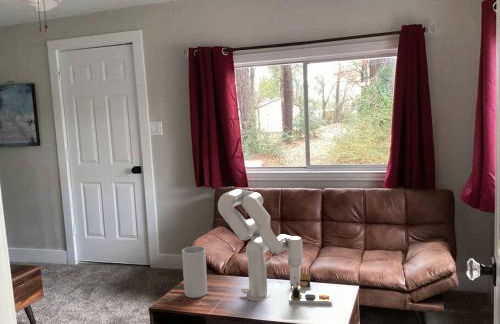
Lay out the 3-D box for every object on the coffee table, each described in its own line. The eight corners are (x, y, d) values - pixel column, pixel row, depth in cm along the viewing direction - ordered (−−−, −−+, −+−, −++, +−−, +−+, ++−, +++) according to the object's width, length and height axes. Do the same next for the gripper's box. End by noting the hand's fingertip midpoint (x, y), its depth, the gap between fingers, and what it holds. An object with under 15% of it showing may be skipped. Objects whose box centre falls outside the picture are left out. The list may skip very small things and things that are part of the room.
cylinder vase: (180, 293, 237) (177, 249, 235) (200, 287, 245) (197, 244, 242) (191, 300, 227) (189, 255, 225) (211, 293, 235) (209, 249, 232)
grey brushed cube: (306, 302, 217) (305, 294, 217) (306, 299, 221) (305, 290, 221) (314, 302, 216) (314, 294, 216) (314, 299, 221) (314, 290, 220)
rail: (289, 305, 217) (289, 299, 216) (290, 299, 224) (289, 293, 224) (331, 306, 213) (331, 301, 213) (330, 300, 221) (330, 294, 221)
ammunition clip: (310, 287, 238) (309, 266, 237) (310, 288, 237) (309, 267, 235) (291, 286, 240) (290, 266, 239) (290, 288, 238) (290, 267, 237)
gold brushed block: (292, 302, 218) (291, 289, 217) (292, 298, 222) (292, 285, 221) (300, 302, 217) (300, 289, 217) (300, 299, 222) (300, 286, 221)
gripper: (288, 255, 226) (289, 288, 228) (286, 266, 210) (288, 302, 212) (303, 255, 225) (304, 289, 227) (302, 267, 209) (303, 302, 211)
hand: (296, 295), depth 219 cm, fingers closed on gold brushed block, 4 cm apart
